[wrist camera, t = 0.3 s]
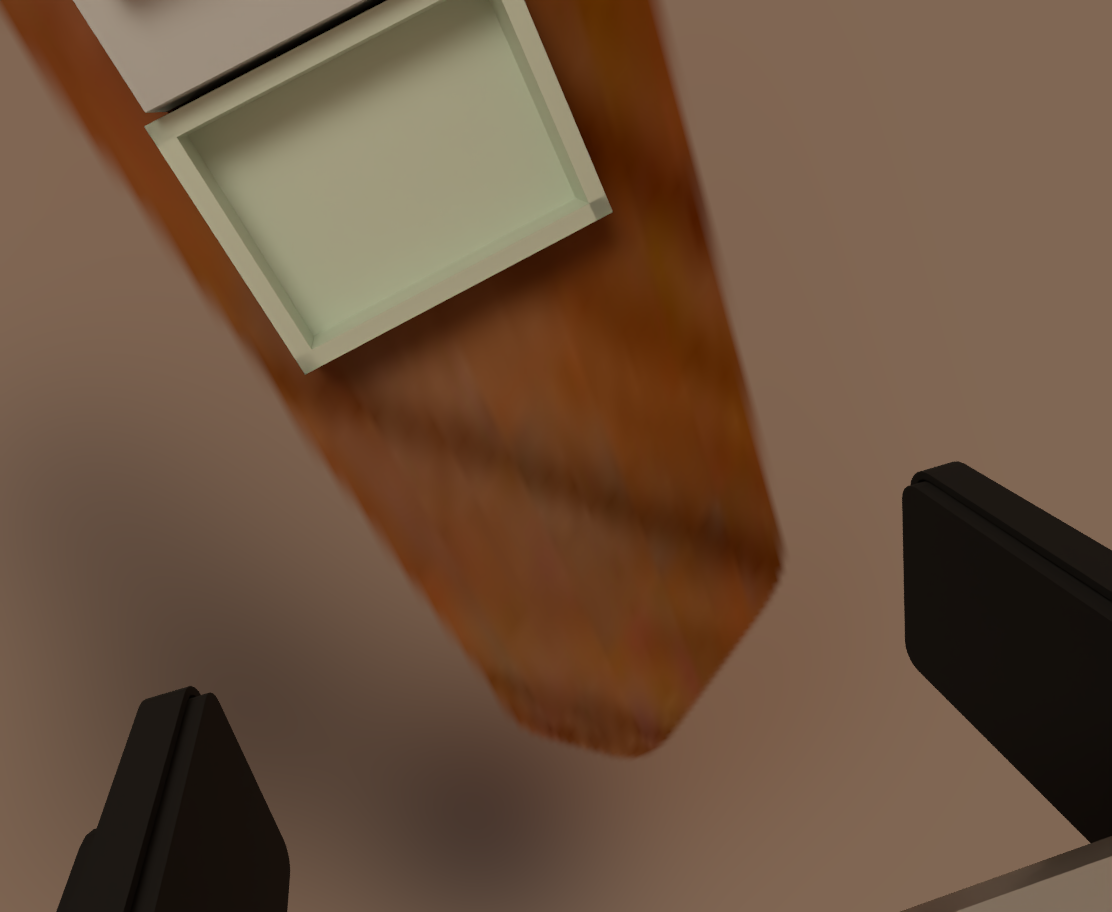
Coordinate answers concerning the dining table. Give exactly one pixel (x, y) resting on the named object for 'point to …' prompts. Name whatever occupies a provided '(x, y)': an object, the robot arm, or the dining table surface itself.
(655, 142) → the dining table surface
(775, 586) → the dining table surface
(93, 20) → the bench board
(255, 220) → the box
